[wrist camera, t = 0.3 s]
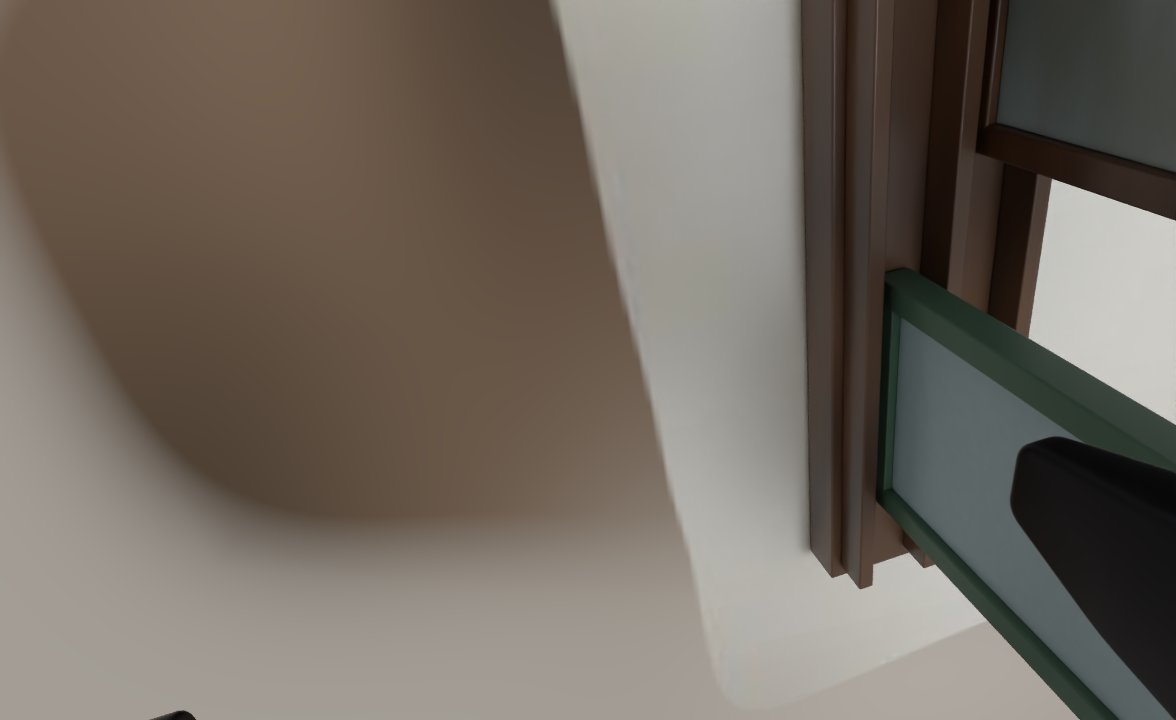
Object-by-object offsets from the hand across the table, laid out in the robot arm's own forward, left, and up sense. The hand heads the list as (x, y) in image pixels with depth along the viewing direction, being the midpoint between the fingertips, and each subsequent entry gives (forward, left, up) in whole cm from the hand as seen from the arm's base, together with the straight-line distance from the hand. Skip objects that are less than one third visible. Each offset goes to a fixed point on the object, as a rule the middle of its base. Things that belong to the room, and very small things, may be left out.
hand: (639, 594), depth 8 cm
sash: (-8, -11, -12) cm, 18 cm away
